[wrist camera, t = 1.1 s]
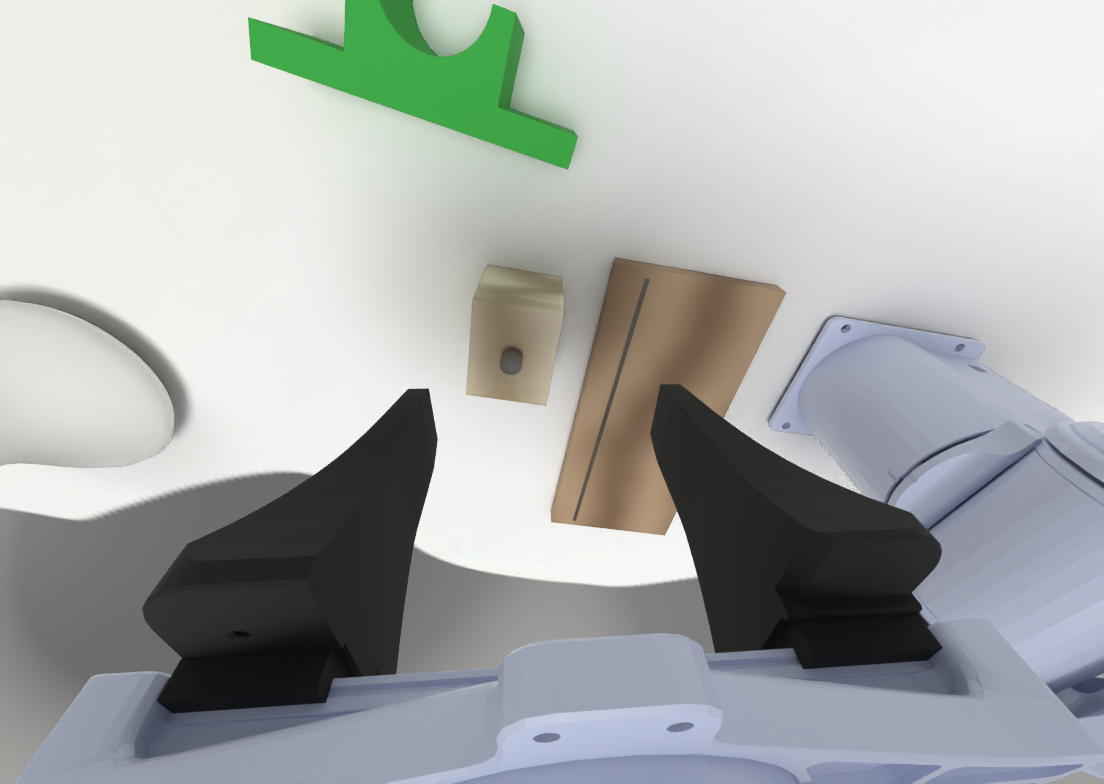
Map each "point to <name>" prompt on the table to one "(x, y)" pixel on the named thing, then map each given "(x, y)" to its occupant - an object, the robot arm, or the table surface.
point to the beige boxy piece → (514, 335)
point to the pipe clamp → (421, 73)
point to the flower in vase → (75, 393)
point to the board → (653, 384)
